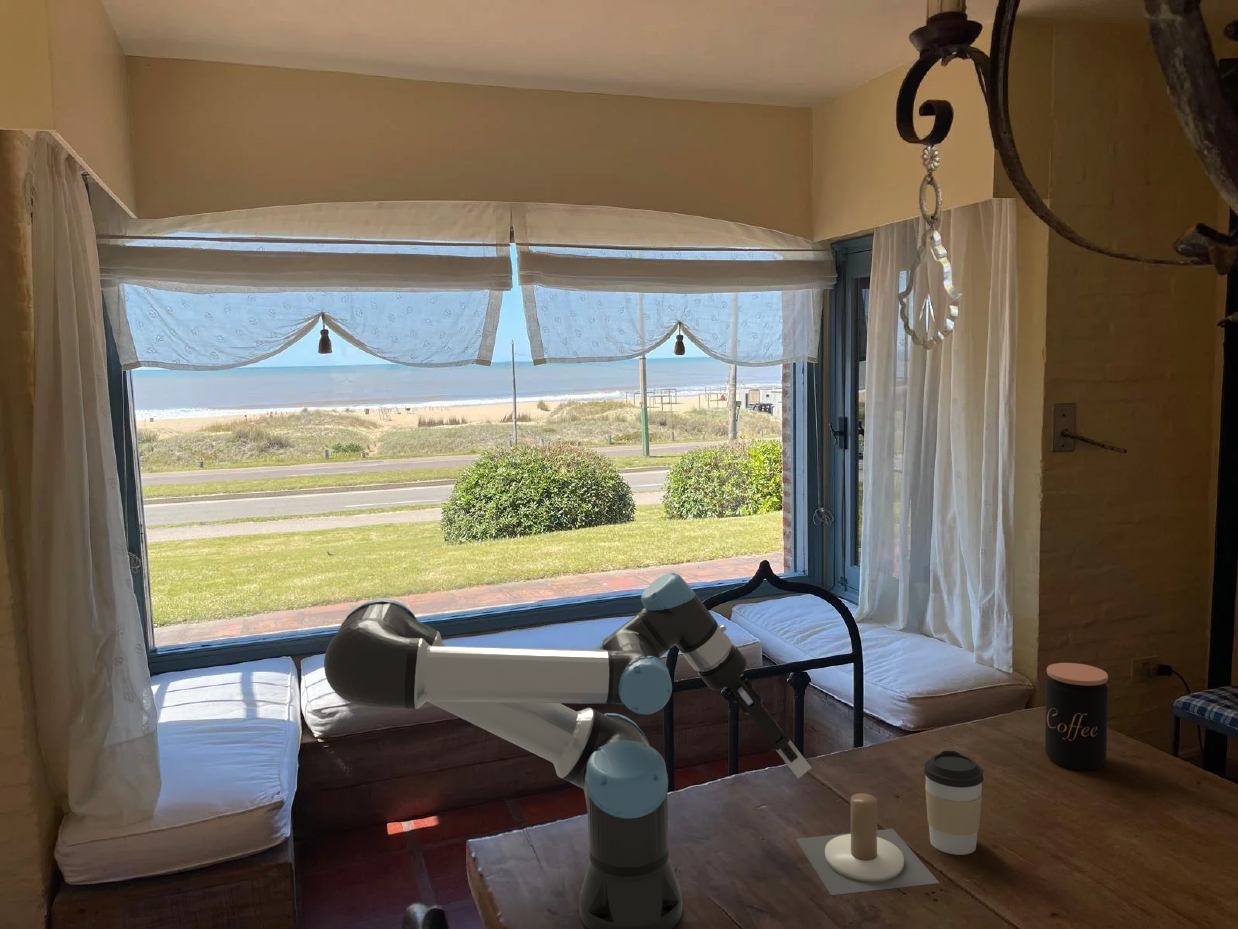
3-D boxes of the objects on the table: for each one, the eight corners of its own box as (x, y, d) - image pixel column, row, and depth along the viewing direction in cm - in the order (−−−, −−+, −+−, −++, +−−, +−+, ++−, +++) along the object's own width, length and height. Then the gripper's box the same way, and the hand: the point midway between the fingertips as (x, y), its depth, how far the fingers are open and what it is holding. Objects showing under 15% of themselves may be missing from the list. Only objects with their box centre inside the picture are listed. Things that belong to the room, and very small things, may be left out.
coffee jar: (1035, 760, 172) (1037, 672, 170) (1057, 744, 179) (1059, 658, 177) (1094, 778, 164) (1096, 685, 162) (1114, 759, 171) (1116, 670, 170)
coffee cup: (988, 865, 137) (989, 773, 135) (927, 860, 139) (928, 770, 137) (976, 835, 146) (977, 749, 144) (919, 831, 147) (920, 746, 146)
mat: (831, 900, 129) (831, 895, 129) (795, 843, 145) (795, 838, 145) (939, 888, 131) (939, 883, 131) (892, 833, 147) (892, 828, 147)
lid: (842, 885, 131) (841, 822, 130) (814, 843, 143) (813, 785, 142) (917, 877, 133) (917, 814, 132) (883, 836, 145) (883, 778, 144)
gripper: (755, 667, 128) (836, 773, 131) (714, 621, 153) (783, 711, 156) (715, 699, 128) (797, 804, 131) (680, 648, 152) (750, 737, 156)
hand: (790, 754), depth 144 cm, fingers open, 13 cm apart
